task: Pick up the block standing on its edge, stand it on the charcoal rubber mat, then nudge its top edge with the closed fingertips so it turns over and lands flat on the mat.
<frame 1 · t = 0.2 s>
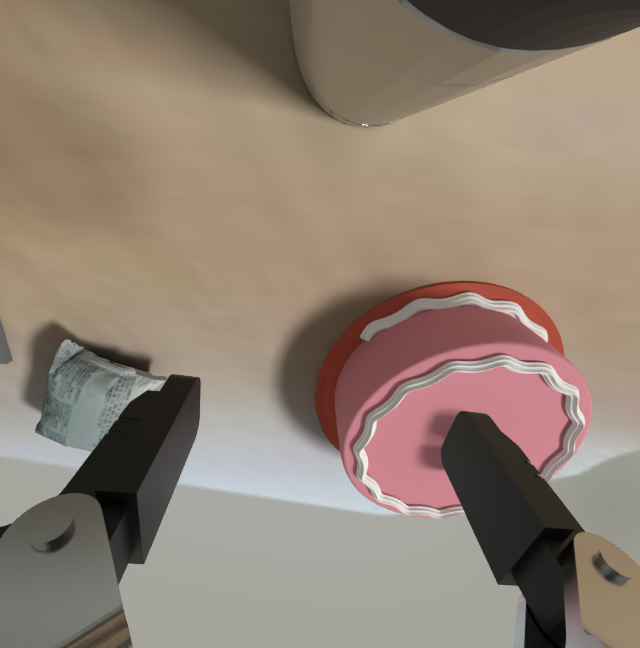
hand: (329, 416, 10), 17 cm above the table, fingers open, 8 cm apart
cake: (434, 392, 33), on the table
packaged food: (119, 388, 31), on the table
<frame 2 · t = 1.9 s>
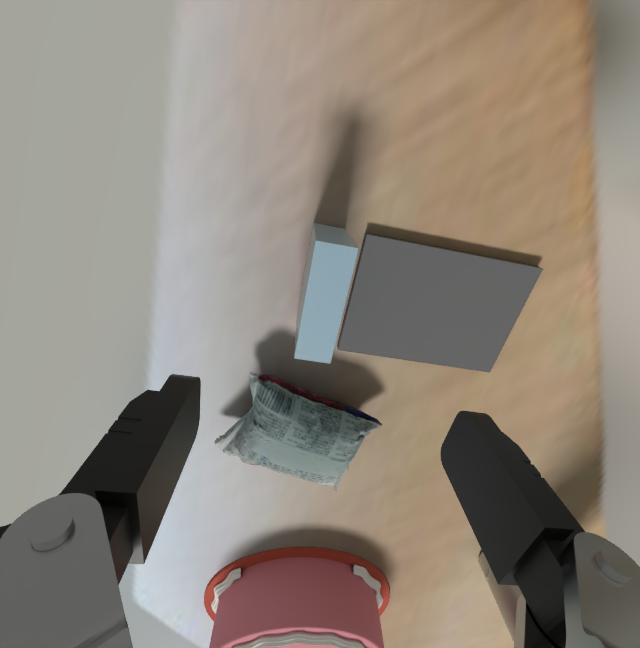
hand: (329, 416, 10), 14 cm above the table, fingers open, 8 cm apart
cake: (298, 596, 43), on the table
packaged food: (297, 416, 29), on the table
mat: (432, 308, 24), on the table
block: (319, 275, 22), on the table
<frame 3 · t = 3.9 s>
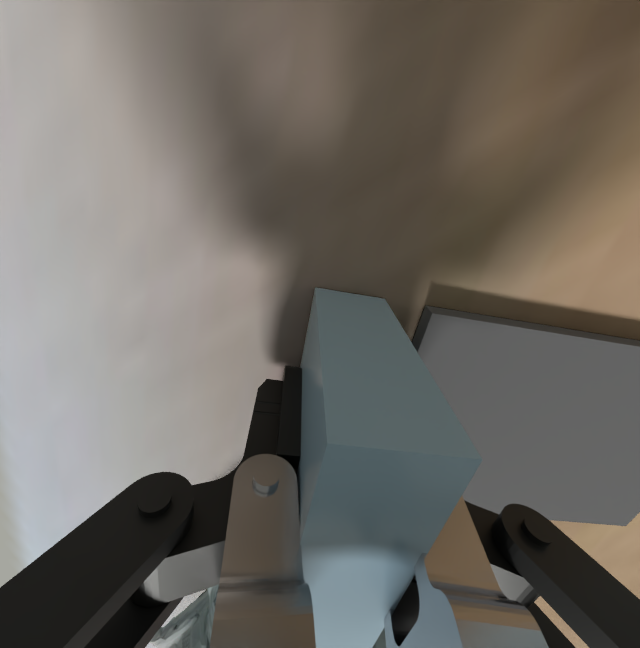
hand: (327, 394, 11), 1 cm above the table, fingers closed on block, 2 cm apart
packaged food: (295, 571, 17), on the table
mat: (540, 431, 13), on the table
block: (328, 384, 11), on the table, touching gripper
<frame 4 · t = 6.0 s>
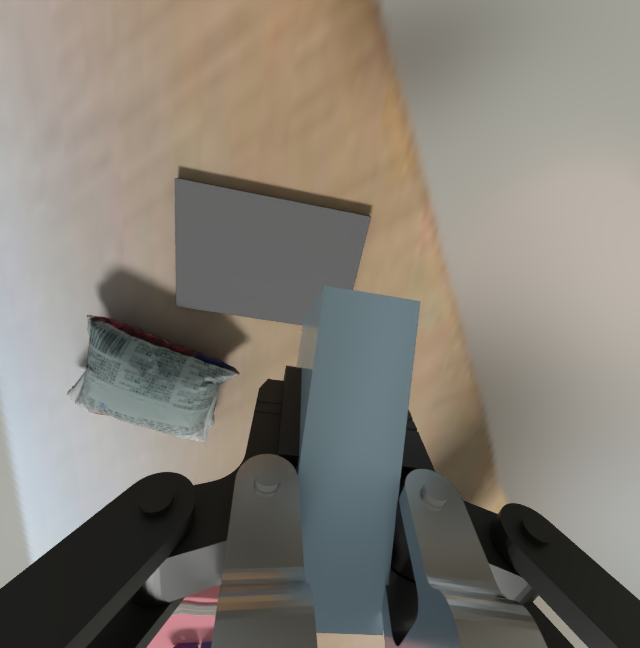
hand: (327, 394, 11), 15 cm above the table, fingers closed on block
cake: (214, 572, 42), on the table
packaged food: (164, 369, 27), on the table
mat: (269, 261, 23), on the table
block: (318, 403, 13), point 13 cm above the table, tilted 31°, touching gripper
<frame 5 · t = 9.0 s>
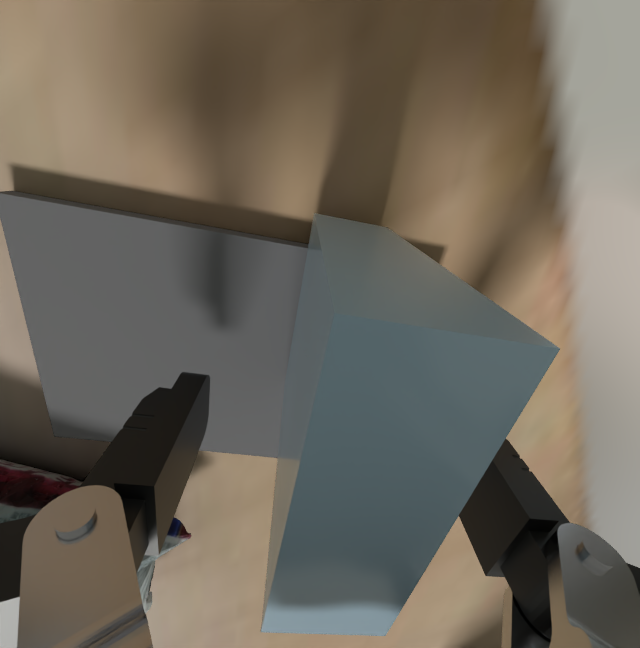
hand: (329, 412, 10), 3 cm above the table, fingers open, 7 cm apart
packaged food: (66, 504, 16), on the table
mat: (232, 354, 12), on the table
block: (317, 463, 9), point 4 cm above the table, tilted 90°, touching mat
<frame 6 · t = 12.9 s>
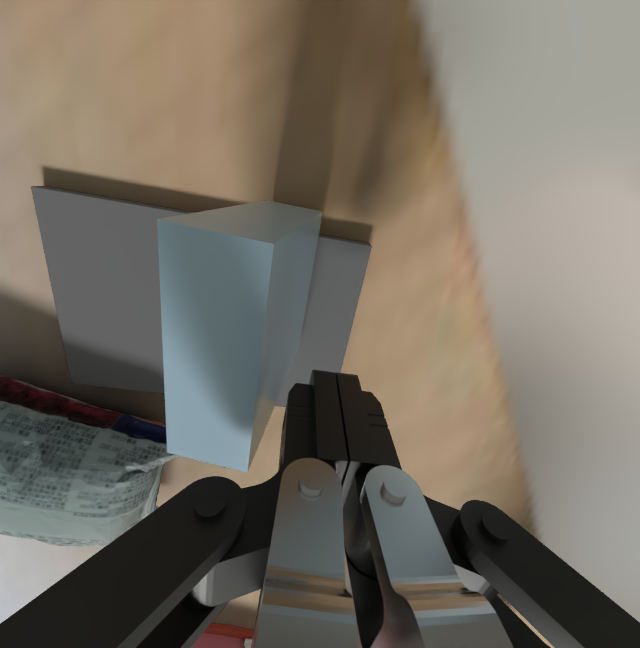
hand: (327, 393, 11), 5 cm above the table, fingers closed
packaged food: (84, 434, 18), on the table
mat: (212, 315, 15), on the table
block: (251, 384, 11), point 4 cm above the table, tilted 90°, touching gripper, mat
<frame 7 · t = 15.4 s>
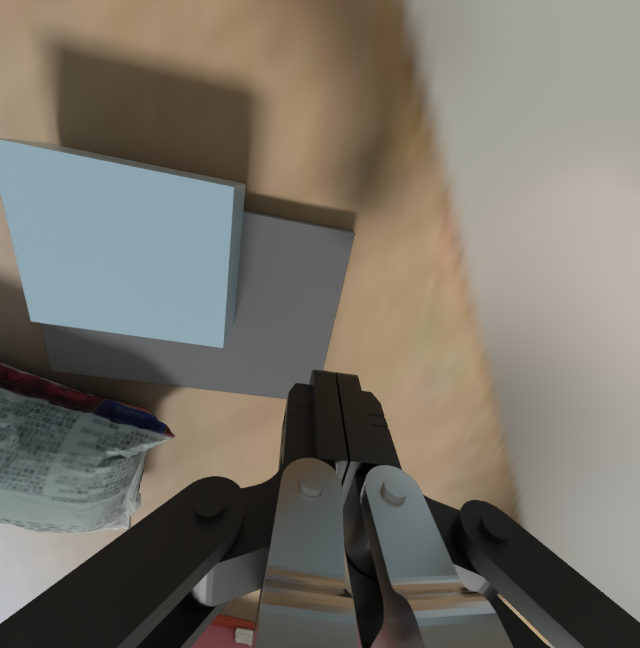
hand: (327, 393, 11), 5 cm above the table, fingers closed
packaged food: (66, 420, 18), on the table
mat: (194, 302, 14), on the table
block: (143, 322, 13), point 2 cm above the table, tilted 90°, touching mat
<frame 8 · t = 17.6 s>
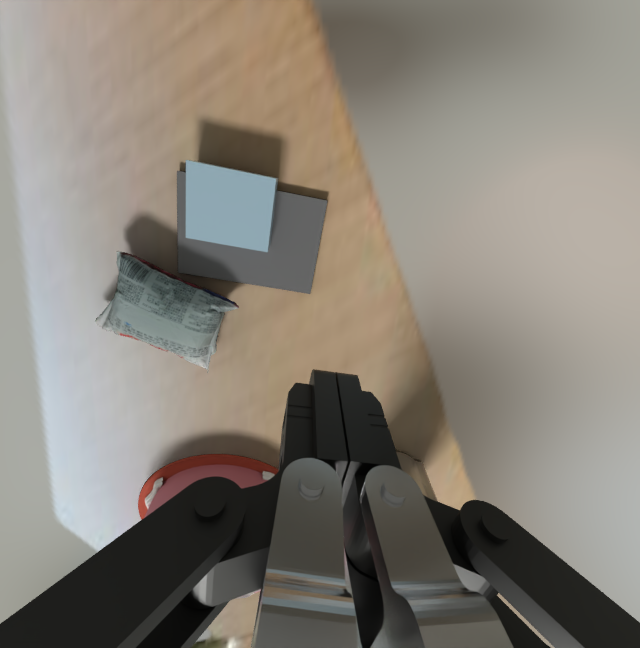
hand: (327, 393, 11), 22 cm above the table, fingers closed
cake: (225, 509, 48), on the table
packaged food: (175, 306, 33), on the table
mat: (250, 236, 30), on the table
block: (230, 242, 28), point 2 cm above the table, tilted 90°, touching mat
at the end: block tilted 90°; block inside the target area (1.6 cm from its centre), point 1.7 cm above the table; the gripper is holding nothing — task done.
